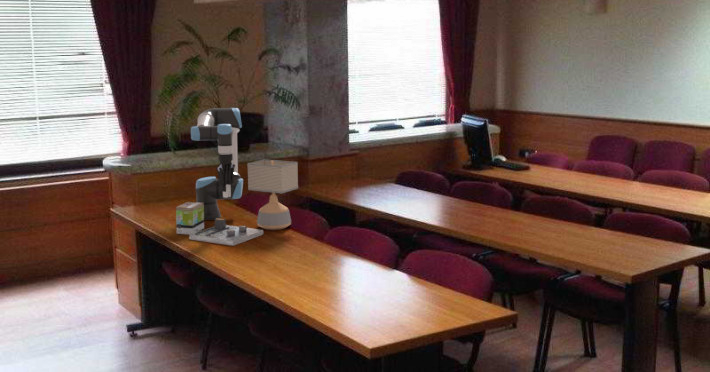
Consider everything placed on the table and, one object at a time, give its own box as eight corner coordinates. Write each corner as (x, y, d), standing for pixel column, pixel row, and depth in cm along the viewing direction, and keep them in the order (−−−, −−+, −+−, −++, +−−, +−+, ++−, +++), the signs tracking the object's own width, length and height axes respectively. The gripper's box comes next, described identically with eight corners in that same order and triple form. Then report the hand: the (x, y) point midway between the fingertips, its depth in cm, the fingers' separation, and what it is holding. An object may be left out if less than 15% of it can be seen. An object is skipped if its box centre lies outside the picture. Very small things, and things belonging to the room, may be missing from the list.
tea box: (194, 235, 417) (192, 207, 414) (176, 234, 419) (174, 206, 416) (204, 228, 431) (203, 201, 429) (187, 227, 433) (186, 201, 431)
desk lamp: (300, 225, 436) (299, 160, 429) (281, 233, 419) (279, 165, 413) (267, 221, 446) (265, 157, 439) (247, 228, 429) (245, 162, 423)
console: (220, 228, 431) (219, 219, 430) (263, 234, 417) (263, 225, 416) (188, 239, 408) (188, 229, 407) (233, 245, 395) (232, 236, 394)
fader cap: (218, 227, 422) (218, 217, 422) (225, 228, 420) (225, 218, 419) (214, 228, 420) (214, 219, 419) (222, 229, 418) (222, 220, 417)
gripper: (228, 151, 426) (229, 193, 431) (210, 154, 414) (212, 198, 418) (239, 152, 423) (241, 195, 427) (222, 155, 410) (223, 200, 414)
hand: (226, 196), depth 423 cm, fingers open, 2 cm apart
